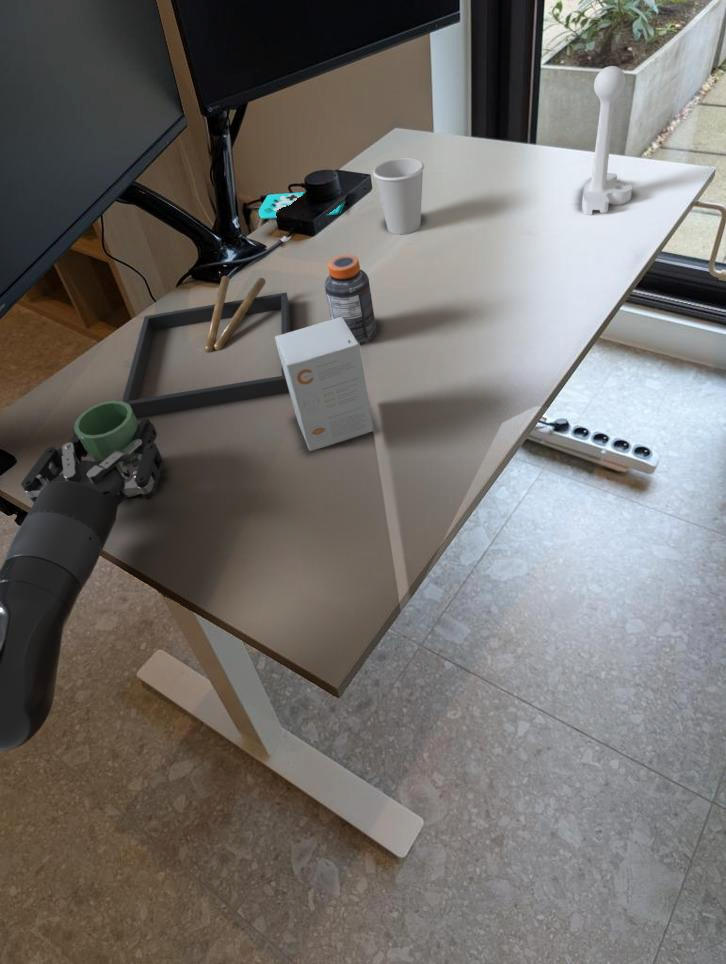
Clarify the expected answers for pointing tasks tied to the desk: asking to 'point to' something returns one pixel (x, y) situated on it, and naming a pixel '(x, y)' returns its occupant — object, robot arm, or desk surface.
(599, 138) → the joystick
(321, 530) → the desk surface
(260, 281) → the stick
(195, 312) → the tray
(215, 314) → the stick
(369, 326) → the pill bottle
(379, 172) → the dixie cup
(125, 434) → the green cup
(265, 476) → the desk surface
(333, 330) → the small box
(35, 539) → the robot arm
